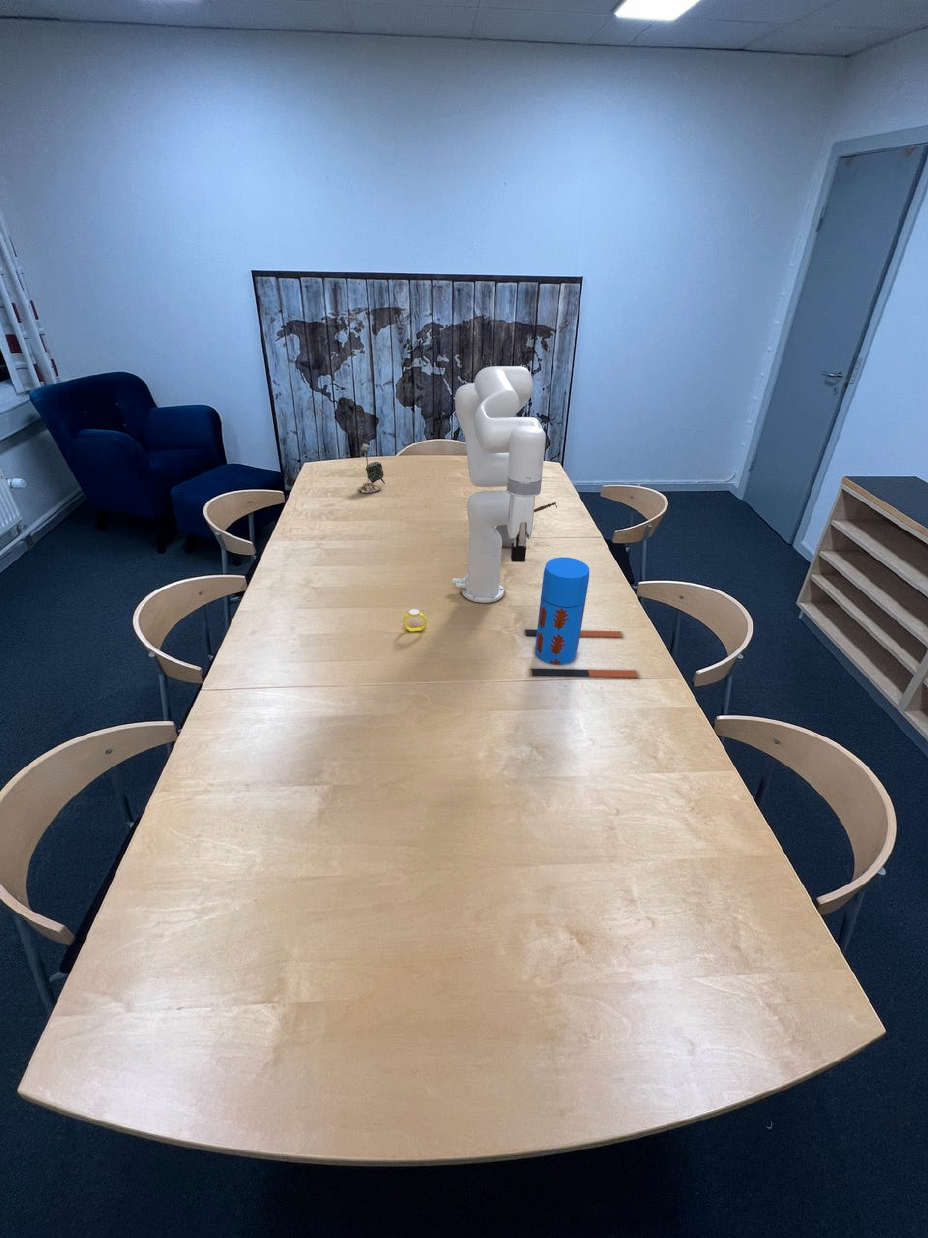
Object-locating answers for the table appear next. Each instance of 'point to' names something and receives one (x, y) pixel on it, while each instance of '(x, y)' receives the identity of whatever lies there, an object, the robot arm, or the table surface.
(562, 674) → the lane
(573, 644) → the thermos
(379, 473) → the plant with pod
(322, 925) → the table surface
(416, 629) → the gold ring
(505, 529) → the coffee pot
